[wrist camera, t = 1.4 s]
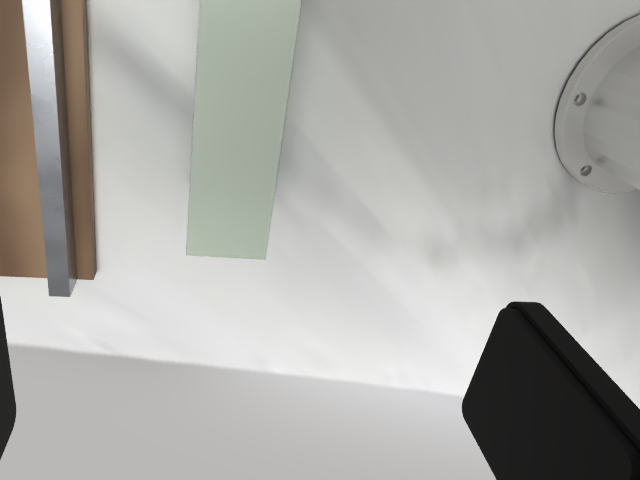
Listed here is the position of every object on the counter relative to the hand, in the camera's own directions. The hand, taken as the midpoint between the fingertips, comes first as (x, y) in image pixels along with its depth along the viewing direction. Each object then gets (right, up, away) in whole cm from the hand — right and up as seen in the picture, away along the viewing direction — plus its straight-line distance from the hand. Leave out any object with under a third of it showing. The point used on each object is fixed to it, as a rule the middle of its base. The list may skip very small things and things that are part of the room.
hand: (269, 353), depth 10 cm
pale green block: (-4, +12, +21) cm, 24 cm away
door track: (-18, +8, +20) cm, 28 cm away
